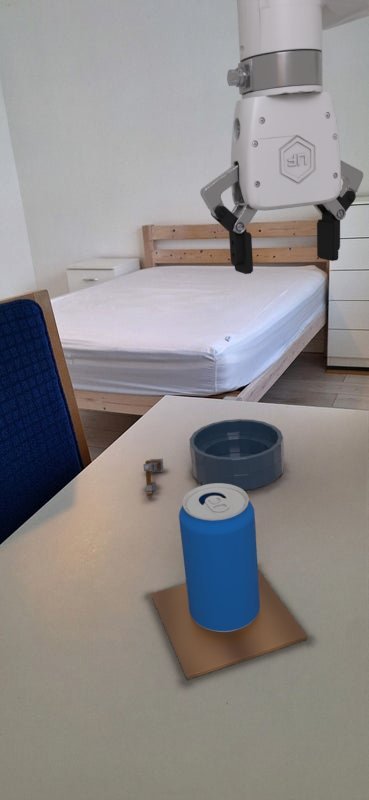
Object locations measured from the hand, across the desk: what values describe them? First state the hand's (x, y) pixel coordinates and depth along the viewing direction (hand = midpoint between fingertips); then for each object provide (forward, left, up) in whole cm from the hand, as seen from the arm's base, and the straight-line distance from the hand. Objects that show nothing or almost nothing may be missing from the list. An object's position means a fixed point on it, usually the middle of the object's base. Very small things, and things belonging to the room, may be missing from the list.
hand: (286, 265), depth 62 cm
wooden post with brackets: (+14, -12, -28) cm, 34 cm away
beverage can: (+15, +15, -28) cm, 35 cm away
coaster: (+15, +15, -28) cm, 35 cm away
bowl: (+3, -10, -28) cm, 30 cm away
